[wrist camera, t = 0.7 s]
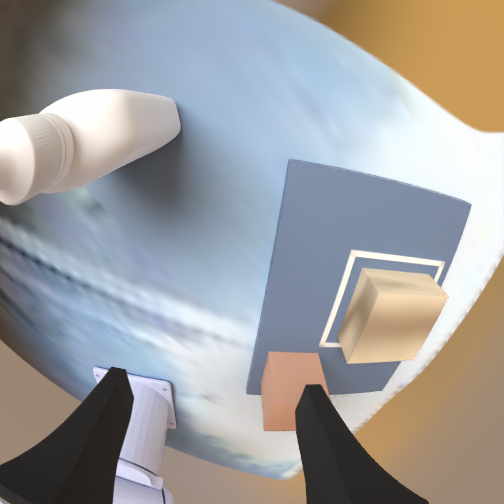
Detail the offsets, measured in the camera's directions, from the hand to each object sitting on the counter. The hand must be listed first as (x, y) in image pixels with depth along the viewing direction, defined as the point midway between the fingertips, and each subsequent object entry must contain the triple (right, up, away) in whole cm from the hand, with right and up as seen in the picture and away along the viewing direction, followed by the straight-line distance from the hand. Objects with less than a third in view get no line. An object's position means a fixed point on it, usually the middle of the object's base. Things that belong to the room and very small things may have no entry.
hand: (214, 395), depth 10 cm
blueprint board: (+9, +1, +10) cm, 14 cm away
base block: (+11, +2, +9) cm, 15 cm away
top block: (+5, -4, +12) cm, 13 cm away
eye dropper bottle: (-5, +13, +4) cm, 15 cm away
